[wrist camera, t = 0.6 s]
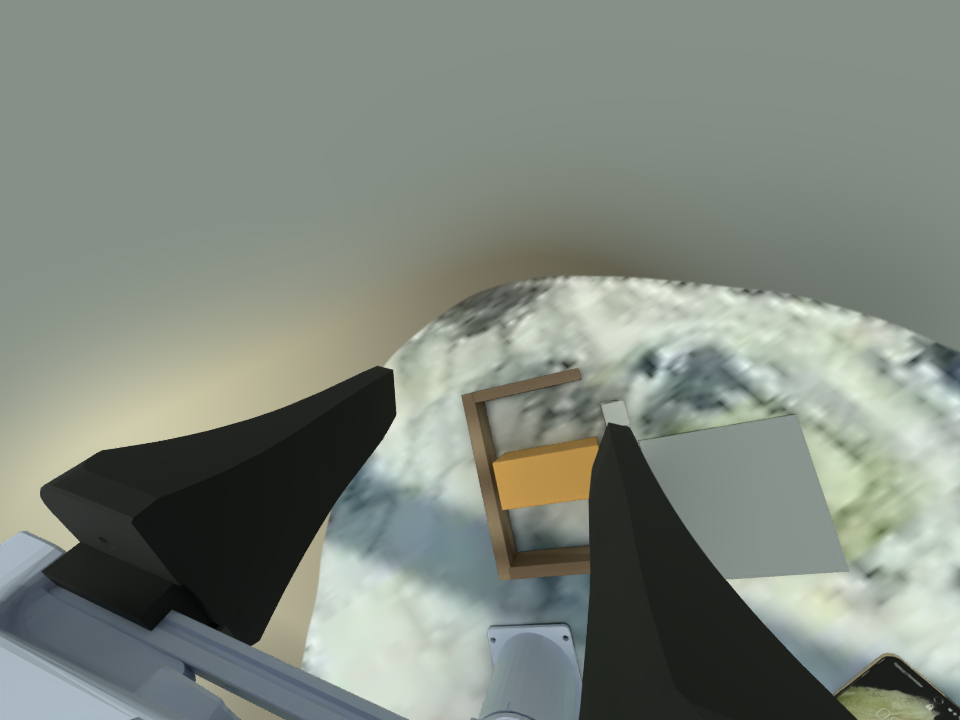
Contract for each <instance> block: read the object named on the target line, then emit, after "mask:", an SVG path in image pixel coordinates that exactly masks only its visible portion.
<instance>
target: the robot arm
mask: <svg viewBox="0 0 960 720" xmlns="http://www.w3.org/2000/svg"><path fill="white" fill-rule="evenodd" d="M395 417H396V402H395V388H394V374H393V370H392V369H388V368H384V367H380V366H376V367H374V368H371V369H369V370H367V371H364V372H362V373H360V374H358V375H356V376H354V377H352V378H350V379H347V380H345V381H343V382H341V383H339V384H337V385H335V386H332V387H330V388H328V389H326V390H324V391H322V392H320V393H317V394H315V395H312V396H310V397H308V398H305V399H303V400H300V401H298V402H296V403H294V404H291V405H289V406H286V407H284V408H281V409H278V410H275V411H273V412H270V413H267V414H264V415H261V416H258V417H255V418H252V419H249V420H245V421H242V422H238V423H234V424H231V425H228V426H224V427H220V428H216V429H213V430H209V431H205V432H201V433H196V434H192V435H188V436H183V437H178V438H173V439H168V440H163V441H158V442H152V443H146V444H140V445H134V446H128V447H121V448H115V449H108V450H102V451H100V452H98V453H96V454H95V455H93V456H92V457H90V458H88V459H87V460H85V461H83V462H82V463H80V464H78V465H77V466H75V467H73V468H72V469H70V470H68V471H67V472H65V473H64V474H62V475H60V476H58V477H57V478H55V479H54V480H52V481H50V482H49V483H47V484H45V485H44V486H43V487H41V490H40V496H41V499H42V500H43V502H44V504H45V505H46V506H47V507H48V508H49V510H51V512H52V513H53V514H54V515H55V516H56V517H57V518H58V519H59V520H60V521H61V522H62V523H63V524H64V526H65V527H66V528H67V529H68V530H69V531H70V532H71V533H72V534H73V535H74V536H75V537H76V538H77V539H78V540H79V541H80V543H78V544H77V545H76V546H74V547H73V548H72V549H71V550H69V551H68V552H66V551H65V550H63V549H62V548H60V547H59V546H57V545H55V544H53V543H51V542H49V541H47V540H45V539H42V538H40V537H38V536H36V535H34V534H31V533H29V532H27V531H22V532H19V533H17V534H16V535H14V536H13V537H11V538H10V539H8V540H6V541H5V542H3V543H2V544H1V545H0V720H241V719H239V718H238V717H237V716H236V715H235V714H234V713H233V712H232V711H231V710H230V709H229V708H228V707H227V706H226V705H225V703H224V702H223V700H222V699H221V698H220V697H218V696H216V695H215V694H213V693H211V692H210V691H208V690H207V689H205V688H204V687H202V686H200V685H198V684H197V683H195V681H196V679H195V674H196V675H198V676H200V677H202V678H204V679H206V680H208V681H210V682H212V683H214V684H216V685H218V686H220V687H221V688H224V689H226V690H227V691H230V692H231V693H233V694H235V695H237V696H239V697H241V698H243V699H245V700H247V701H249V702H251V703H253V704H255V705H257V706H259V707H261V708H263V709H265V710H267V711H269V712H271V713H273V714H275V715H277V716H279V717H281V718H283V719H285V720H408V719H406V718H404V717H402V716H400V715H398V714H395V713H393V712H391V711H389V710H387V709H385V708H383V707H380V706H378V705H376V704H374V703H372V702H370V701H367V700H365V699H363V698H361V697H359V696H357V695H355V694H352V693H350V692H348V691H346V690H344V689H342V688H340V687H337V686H335V685H333V684H331V683H329V682H327V681H324V680H322V679H320V678H318V677H316V676H314V675H312V674H309V673H307V672H305V671H303V670H301V669H299V668H296V667H294V666H292V665H290V664H288V663H286V662H283V661H281V660H279V659H277V658H275V657H273V656H271V655H268V654H266V653H264V652H262V651H260V650H258V649H256V648H253V647H251V646H252V645H254V644H255V643H257V642H258V641H260V639H261V637H262V635H263V633H264V631H265V629H266V627H267V625H268V623H269V621H270V619H271V616H272V615H273V613H274V611H275V609H276V607H277V605H278V602H279V601H280V599H281V597H282V595H283V593H284V591H285V589H286V587H287V585H288V583H289V582H290V580H291V578H292V576H293V574H294V572H295V571H296V569H297V567H298V565H299V563H300V561H301V560H302V557H303V556H304V554H305V552H306V551H307V549H308V547H309V546H310V544H311V542H312V540H313V539H314V537H315V535H316V534H317V532H318V530H319V528H320V527H321V525H322V523H323V522H324V520H325V519H326V517H327V515H328V514H329V512H330V511H331V509H332V507H333V506H334V504H335V503H336V501H337V500H338V498H339V497H340V495H341V494H342V492H343V491H344V490H345V488H346V487H347V486H348V484H349V483H350V482H351V481H352V479H353V478H354V477H355V475H356V474H357V473H358V471H359V470H360V469H361V467H362V466H363V465H364V464H365V462H366V461H367V460H368V458H369V457H370V456H371V454H372V453H373V452H374V450H375V449H376V448H377V446H378V445H379V444H380V442H381V441H382V440H383V438H384V436H385V435H386V433H387V431H388V429H389V428H390V426H391V424H392V422H393V420H394V418H395ZM589 539H590V596H589V610H588V624H587V636H586V648H585V660H584V671H583V681H582V680H581V675H580V671H579V667H578V662H577V658H576V654H575V649H574V645H573V641H572V636H571V632H570V628H569V627H568V626H567V625H566V624H550V625H524V626H498V627H490V628H489V629H488V632H487V636H488V641H489V646H490V651H491V656H492V661H493V666H494V672H493V675H492V678H491V681H490V684H489V687H488V691H487V694H486V697H485V700H484V703H483V706H482V709H481V712H480V715H479V718H478V719H476V718H471V720H858V719H857V718H856V717H855V716H854V715H853V714H852V713H851V712H850V711H849V710H848V709H847V708H846V707H845V706H844V705H843V704H841V703H840V702H839V701H838V700H837V699H836V698H835V697H834V696H833V695H832V694H831V693H830V692H829V691H828V690H827V689H826V688H825V687H824V686H823V685H822V684H821V683H820V682H819V681H818V680H817V679H816V678H815V677H814V676H813V675H812V674H811V673H810V672H809V671H808V670H807V669H806V668H805V667H804V666H803V665H802V664H801V663H800V662H799V661H798V660H797V659H796V658H795V657H794V656H793V655H792V654H791V653H790V651H789V650H788V649H787V648H786V647H785V646H784V645H783V644H782V643H781V642H780V641H779V640H778V639H777V638H776V637H775V635H774V634H773V633H772V632H771V631H770V630H769V629H768V628H767V627H766V626H765V625H764V624H763V623H762V621H761V620H760V619H759V618H758V617H757V616H756V615H755V614H754V612H753V611H752V610H751V609H750V608H749V607H748V606H747V604H746V603H745V602H744V601H743V600H742V599H741V597H740V596H739V595H738V594H737V593H736V591H735V590H734V589H733V588H732V587H731V585H730V584H729V583H728V582H727V581H726V580H725V578H724V577H723V576H722V575H721V574H720V572H719V571H718V570H717V569H716V567H715V566H714V565H713V563H712V562H711V561H710V560H709V558H708V557H707V556H706V554H705V553H704V552H703V550H702V549H701V548H700V546H699V545H698V544H697V542H696V541H695V539H694V538H693V537H692V535H691V534H690V532H689V531H688V529H687V528H686V526H685V525H684V523H683V522H682V520H681V519H680V517H679V516H678V514H677V513H676V511H675V509H674V508H673V506H672V505H671V503H670V502H669V500H668V498H667V497H666V495H665V493H664V492H663V490H662V488H661V486H660V484H659V483H658V481H657V479H656V477H655V476H654V474H653V472H652V470H651V468H650V466H649V465H648V463H647V461H646V459H645V457H644V455H643V453H642V451H641V449H640V447H639V445H638V443H637V441H636V439H635V436H634V434H633V432H632V430H631V429H630V427H627V426H622V425H618V424H614V423H610V422H608V424H607V427H606V430H605V433H604V435H603V438H602V441H601V444H600V447H599V449H598V452H597V455H596V458H595V460H594V463H593V466H592V470H591V480H590V490H589ZM564 635H567V636H568V638H564ZM492 637H493V638H495V640H493V639H492Z"/></svg>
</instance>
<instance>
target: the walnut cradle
mask: <svg viewBox="0 0 960 720" xmlns="http://www.w3.org/2000/svg"><path fill="white" fill-rule="evenodd" d="M577 380H581V376H580V372H579V369H578V368H575V369H571V370H567V371H563V372H558V373H554V374H550V375H546V376H541V377H537V378H533V379H528V380H524V381H520V382H516V383H511V384H507V385H503V386H498V387H494V388H490V389H486V390H481V391H477V392H473V393H469V394H464V395H461V396H462V401H463V406H464V411H465V415H466V420H467V425H468V430H469V435H470V439H471V444H472V449H473V454H474V459H475V463H476V468H477V473H478V478H479V483H480V487H481V492H482V497H483V502H484V507H485V511H486V516H487V521H488V526H489V531H490V535H491V540H492V545H493V550H494V555H495V559H496V564H497V569H498V574H499V579H500V580H510V579H523V578H537V577H550V576H563V575H576V574H589V573H590V545H587V546H577V547H567V548H556V549H546V550H536V551H526V552H516V547H515V543H514V538H513V533H512V529H511V524H510V520H509V515H508V510H502V505H501V501H500V496H499V491H498V487H497V482H496V478H495V473H494V468H493V464H492V463H493V462H495V461H496V455H495V450H494V446H493V441H492V437H491V432H490V427H489V423H488V418H487V413H486V409H485V404H484V401H488V400H492V399H497V398H501V397H506V396H510V395H515V394H519V393H524V392H528V391H533V390H537V389H541V388H546V387H550V386H555V385H559V384H564V383H568V382H573V381H577Z"/></svg>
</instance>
